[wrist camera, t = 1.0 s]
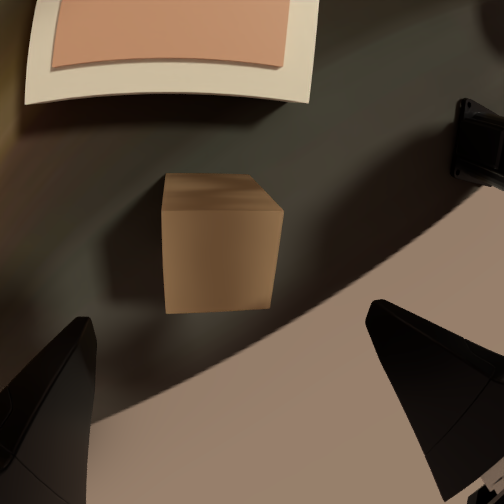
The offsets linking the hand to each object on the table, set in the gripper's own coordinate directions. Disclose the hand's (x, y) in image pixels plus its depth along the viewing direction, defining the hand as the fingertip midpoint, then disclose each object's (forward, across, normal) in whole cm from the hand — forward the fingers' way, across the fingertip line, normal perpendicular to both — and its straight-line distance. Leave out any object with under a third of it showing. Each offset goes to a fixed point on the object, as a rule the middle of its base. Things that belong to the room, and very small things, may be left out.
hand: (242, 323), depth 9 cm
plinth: (+10, +3, -13) cm, 16 cm away
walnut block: (+10, 0, 0) cm, 10 cm away
